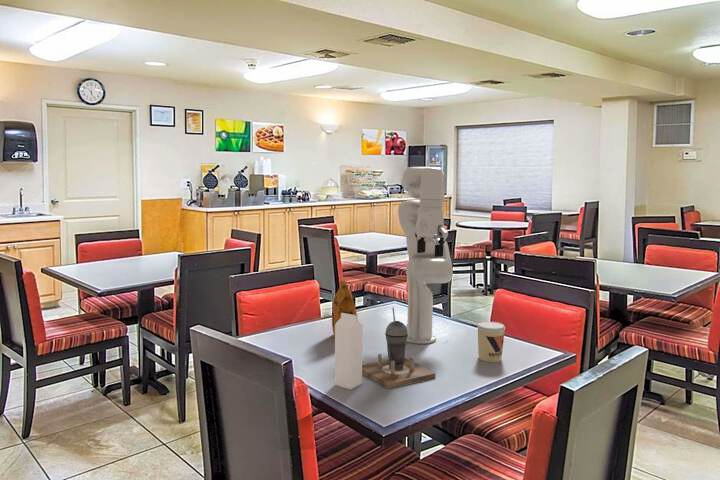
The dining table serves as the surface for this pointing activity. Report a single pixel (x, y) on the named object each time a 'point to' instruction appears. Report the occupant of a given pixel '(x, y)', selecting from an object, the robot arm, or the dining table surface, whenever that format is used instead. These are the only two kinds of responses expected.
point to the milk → (348, 351)
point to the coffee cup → (490, 341)
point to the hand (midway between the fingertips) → (429, 254)
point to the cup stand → (396, 372)
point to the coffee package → (342, 303)
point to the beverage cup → (396, 343)
